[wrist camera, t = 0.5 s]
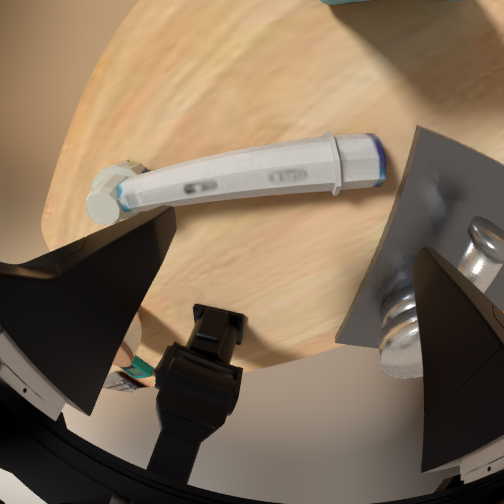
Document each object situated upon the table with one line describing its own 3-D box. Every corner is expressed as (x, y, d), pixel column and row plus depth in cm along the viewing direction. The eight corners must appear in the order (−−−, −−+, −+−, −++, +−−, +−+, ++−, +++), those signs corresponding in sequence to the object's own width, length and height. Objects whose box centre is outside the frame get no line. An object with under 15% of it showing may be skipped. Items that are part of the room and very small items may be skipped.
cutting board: (463, 349, 30) (468, 370, 27) (335, 336, 33) (334, 363, 30) (559, 201, 14) (578, 221, 11) (416, 124, 16) (436, 137, 13)
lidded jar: (136, 286, 35) (102, 340, 28) (162, 334, 41) (138, 383, 34) (85, 279, 37) (52, 322, 30) (113, 324, 44) (88, 365, 36)
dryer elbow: (428, 352, 26) (434, 385, 23) (365, 346, 27) (366, 382, 24) (513, 230, 15) (538, 263, 12) (443, 203, 16) (468, 239, 13)
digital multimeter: (100, 324, 46) (93, 335, 44) (156, 367, 52) (151, 379, 49) (89, 330, 50) (83, 340, 48) (140, 370, 55) (135, 380, 53)
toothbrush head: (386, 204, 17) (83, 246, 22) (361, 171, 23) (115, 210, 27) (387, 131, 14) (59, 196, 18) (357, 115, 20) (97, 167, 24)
